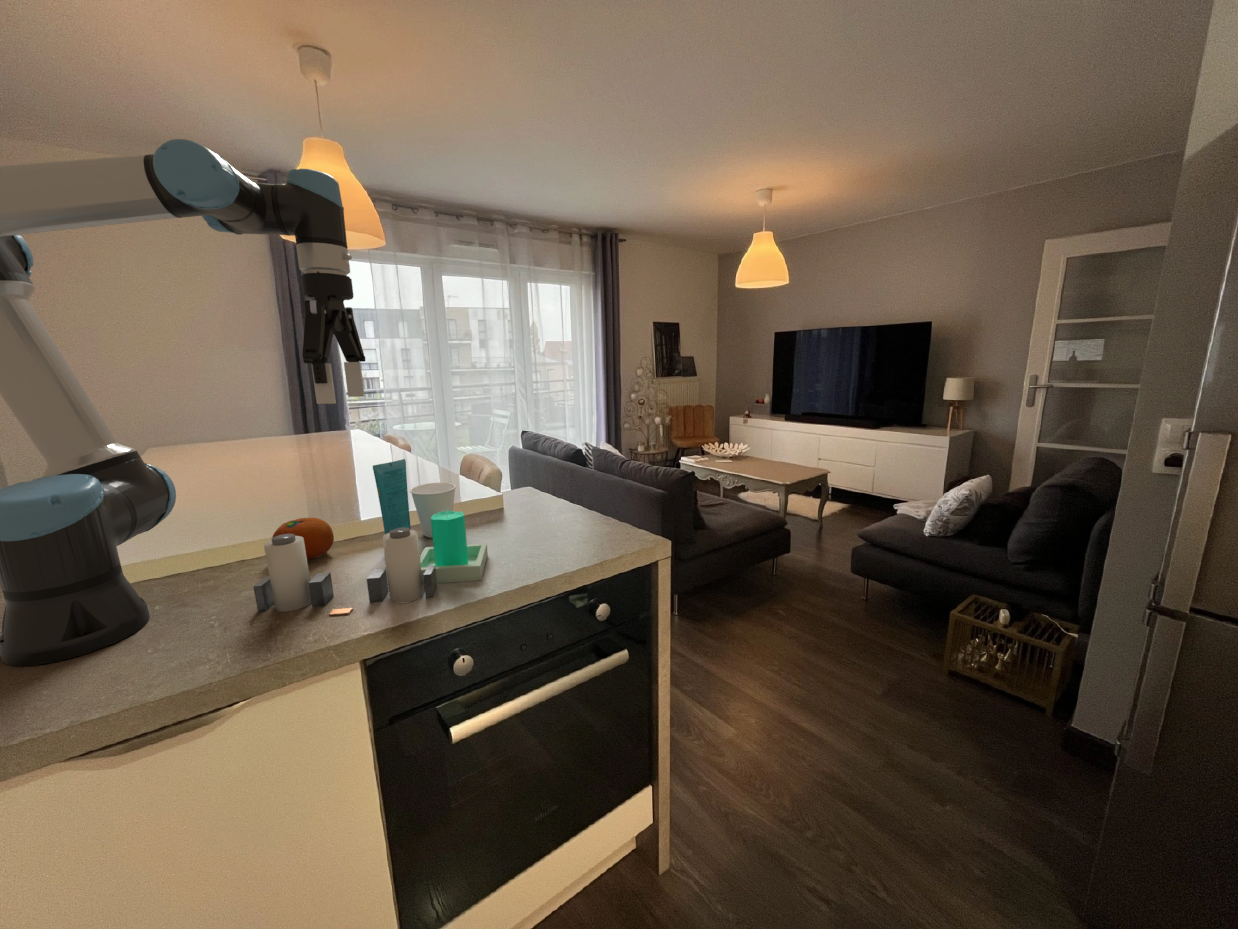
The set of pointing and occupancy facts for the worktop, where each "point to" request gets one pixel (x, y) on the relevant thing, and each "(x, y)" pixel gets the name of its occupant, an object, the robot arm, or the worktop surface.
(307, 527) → the fruit
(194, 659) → the worktop surface
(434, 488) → the cup
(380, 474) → the tube
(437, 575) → the tray
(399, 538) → the fuse right
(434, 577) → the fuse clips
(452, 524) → the candle
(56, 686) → the worktop surface
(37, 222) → the robot arm
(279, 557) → the cylinder
